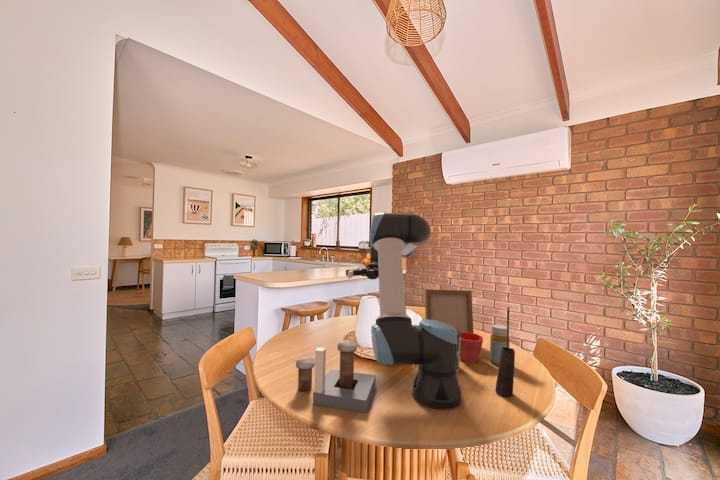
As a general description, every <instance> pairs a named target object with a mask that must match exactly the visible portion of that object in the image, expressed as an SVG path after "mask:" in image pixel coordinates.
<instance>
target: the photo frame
mask: <svg viewBox="0 0 720 480" xmlns="http://www.w3.org/2000/svg"><path fill="white" fill-rule="evenodd" d="M424 300H425V301H424V303H425V305H424V309H425V310H424V311H425V314H424V315H425V317H424V318H425V319H429V320H436V321H440V322H444V323H447V324H449V325H451V326H453V327H454V328H455V329H457V330H459V331H460V332H469V333H474V320H473V318H474V316H473V299H472V290H456V289H455V290H452V289H449V290H447V289H425V290H424ZM425 319H424V320H425Z"/></svg>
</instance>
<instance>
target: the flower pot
mask: <svg viewBox="0 0 720 480" xmlns="http://www.w3.org/2000/svg"><path fill="white" fill-rule="evenodd" d="M483 341H484V338H483V336H481V334H477V333H474V332H473V333H469V332H461V341H460V361H463V362H465V363H469V364H470V363H471V364H472V363H473V364H475V363H478V362H479V360H480V355H481V350H482V346H483Z"/></svg>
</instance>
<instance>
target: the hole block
mask: <svg viewBox="0 0 720 480" xmlns="http://www.w3.org/2000/svg"><path fill="white" fill-rule="evenodd" d="M314 354H315V357H314V358H315V359H314V360H315V366H314V390H313V392H312V405H314V406H321V407H326V408H334V409H339V410H345V411H351V412H352V411H353V412H357V413H359V412H360V413H363V414H366V413H367V410H368V407H369V406H370V402H371V399H372V396H373V394H374V391H375V388H376V380H377V379H376V376H377V375H374V374H368V373H360V372H354V376H353V390H351V389H344V388H339V380H340V370H337V369H331V368H330V369H329V371H328V372H327V373H326V359H327V356H326V355H327V348H326V347H317V348H316V349H315V353H314Z"/></svg>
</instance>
